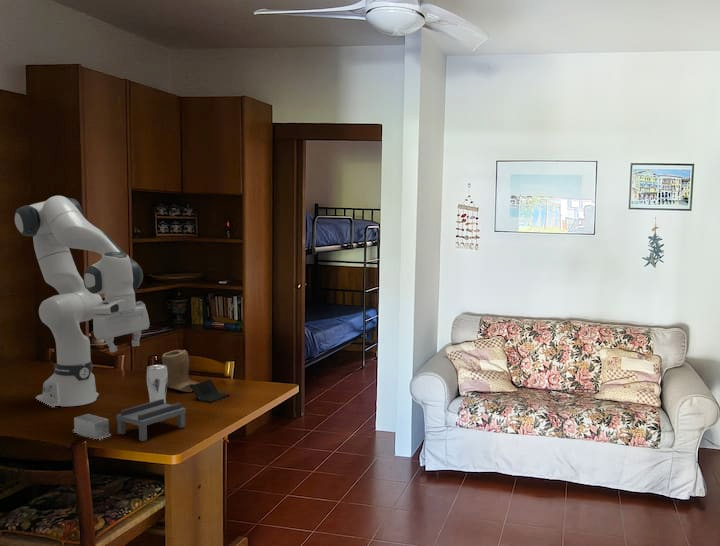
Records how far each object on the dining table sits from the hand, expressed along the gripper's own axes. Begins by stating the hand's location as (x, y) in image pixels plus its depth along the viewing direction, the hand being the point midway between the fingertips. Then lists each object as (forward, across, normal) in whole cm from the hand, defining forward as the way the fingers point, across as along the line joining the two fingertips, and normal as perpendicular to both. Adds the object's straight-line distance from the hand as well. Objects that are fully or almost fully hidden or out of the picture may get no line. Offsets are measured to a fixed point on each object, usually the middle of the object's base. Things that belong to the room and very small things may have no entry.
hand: (124, 348), depth 217 cm
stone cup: (+25, -46, -19) cm, 55 cm away
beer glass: (+26, -21, -8) cm, 34 cm away
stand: (+26, -3, +5) cm, 27 cm away
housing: (+25, +8, -8) cm, 28 cm away
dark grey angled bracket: (+27, -41, -1) cm, 49 cm away
